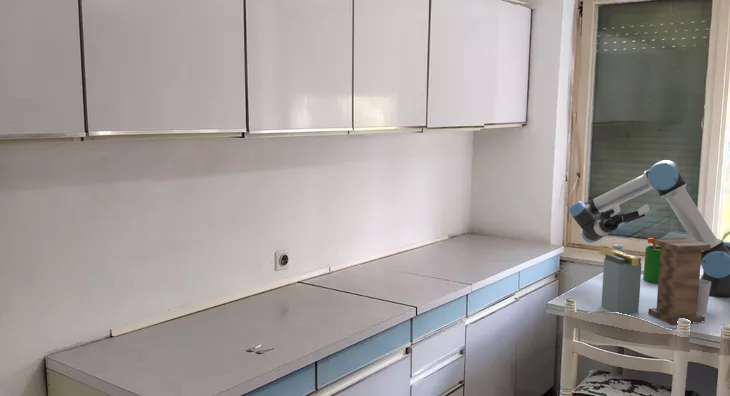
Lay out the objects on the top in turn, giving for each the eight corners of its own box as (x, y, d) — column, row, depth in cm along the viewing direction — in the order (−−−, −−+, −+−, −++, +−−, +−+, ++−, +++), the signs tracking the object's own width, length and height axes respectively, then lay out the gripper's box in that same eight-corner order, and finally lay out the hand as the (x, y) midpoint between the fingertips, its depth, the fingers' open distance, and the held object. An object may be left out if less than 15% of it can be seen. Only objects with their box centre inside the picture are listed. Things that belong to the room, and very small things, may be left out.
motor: (666, 283, 300) (669, 241, 297) (645, 282, 302) (648, 240, 299) (660, 278, 310) (663, 237, 307) (641, 277, 312) (643, 236, 309)
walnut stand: (648, 313, 256) (653, 239, 252) (678, 311, 259) (684, 237, 255) (672, 324, 242) (678, 246, 238) (704, 322, 245) (710, 244, 241)
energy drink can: (612, 273, 319) (614, 243, 316) (625, 275, 315) (626, 245, 313) (608, 275, 314) (609, 245, 312) (620, 277, 310) (622, 247, 308)
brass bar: (599, 253, 271) (599, 246, 271) (605, 253, 272) (605, 246, 272) (631, 265, 250) (632, 258, 250) (638, 265, 251) (639, 257, 250)
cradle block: (601, 306, 264) (604, 254, 261) (623, 305, 267) (626, 252, 264) (616, 314, 255) (619, 259, 252) (638, 312, 257) (641, 258, 254)
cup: (682, 307, 264) (684, 279, 262) (701, 307, 264) (703, 278, 263) (694, 313, 256) (696, 284, 254) (713, 313, 256) (715, 283, 255)
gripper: (633, 231, 289) (662, 215, 270) (583, 234, 283) (609, 217, 264) (628, 216, 292) (657, 198, 272) (579, 218, 286) (604, 200, 267)
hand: (633, 207), depth 268 cm, fingers open, 13 cm apart
